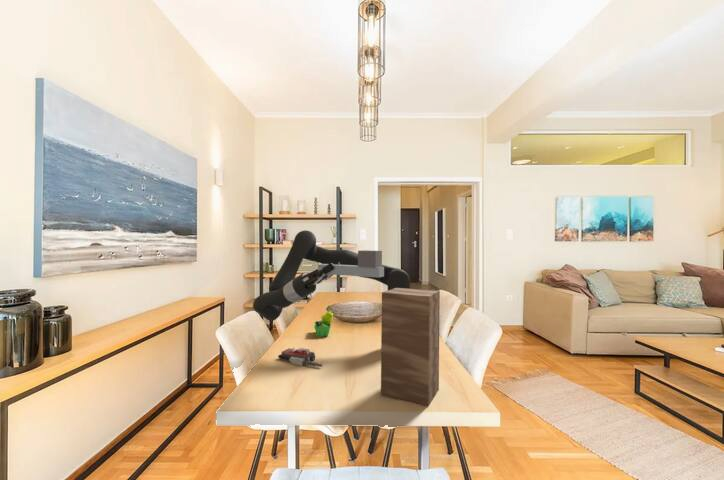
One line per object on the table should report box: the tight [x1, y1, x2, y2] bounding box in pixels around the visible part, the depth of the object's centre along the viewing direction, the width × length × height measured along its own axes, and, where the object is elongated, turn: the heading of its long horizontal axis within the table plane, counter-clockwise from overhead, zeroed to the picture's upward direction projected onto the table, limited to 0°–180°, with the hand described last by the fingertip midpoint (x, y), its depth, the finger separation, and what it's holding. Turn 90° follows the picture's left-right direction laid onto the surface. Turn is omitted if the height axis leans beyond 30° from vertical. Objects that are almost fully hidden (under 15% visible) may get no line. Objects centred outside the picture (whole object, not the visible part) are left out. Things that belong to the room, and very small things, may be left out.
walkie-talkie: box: [277, 347, 323, 367], centre depth 128 cm, size 9×4×20 cm
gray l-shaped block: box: [317, 249, 384, 278], centre depth 111 cm, size 5×22×8 cm, turn 64°
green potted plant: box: [314, 310, 334, 338], centre depth 164 cm, size 11×9×11 cm
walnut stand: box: [380, 288, 441, 407], centre depth 102 cm, size 12×14×30 cm
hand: (336, 265), depth 113 cm, fingers closed on gray l-shaped block, 4 cm apart
